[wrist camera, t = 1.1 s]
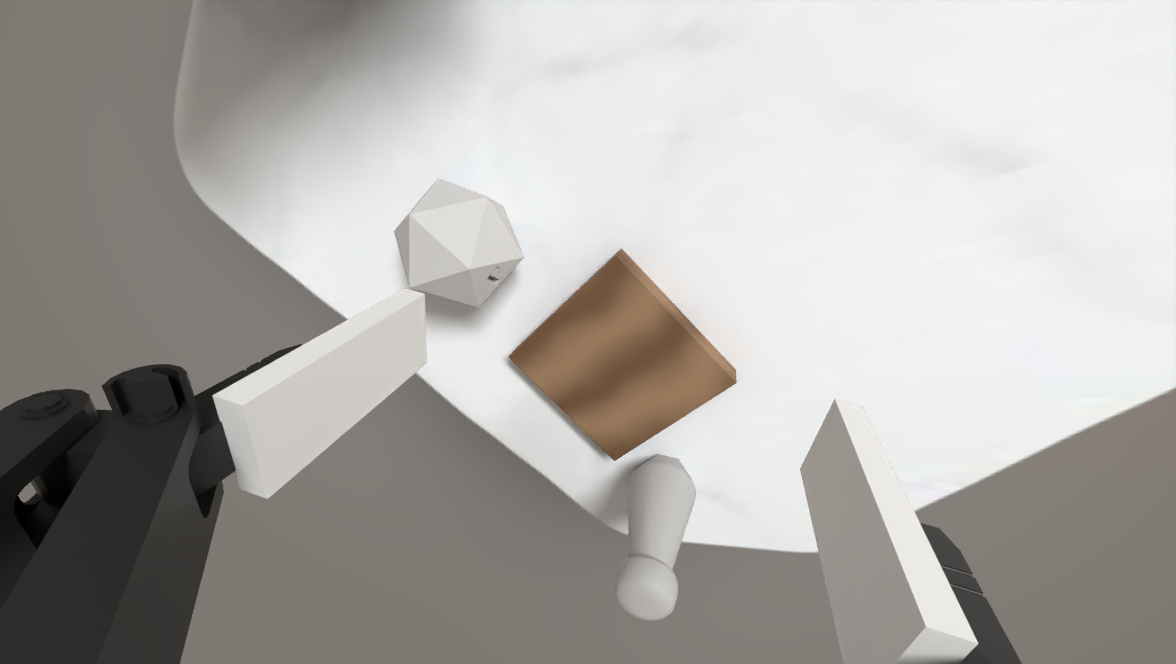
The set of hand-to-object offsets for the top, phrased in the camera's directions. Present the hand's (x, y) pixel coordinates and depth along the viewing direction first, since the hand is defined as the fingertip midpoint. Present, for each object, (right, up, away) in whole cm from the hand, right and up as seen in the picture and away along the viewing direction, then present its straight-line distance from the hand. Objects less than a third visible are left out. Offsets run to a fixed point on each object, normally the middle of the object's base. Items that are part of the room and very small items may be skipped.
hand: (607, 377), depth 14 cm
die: (-9, +10, +22) cm, 26 cm away
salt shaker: (+6, -11, +27) cm, 30 cm away
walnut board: (+2, -1, +23) cm, 23 cm away
